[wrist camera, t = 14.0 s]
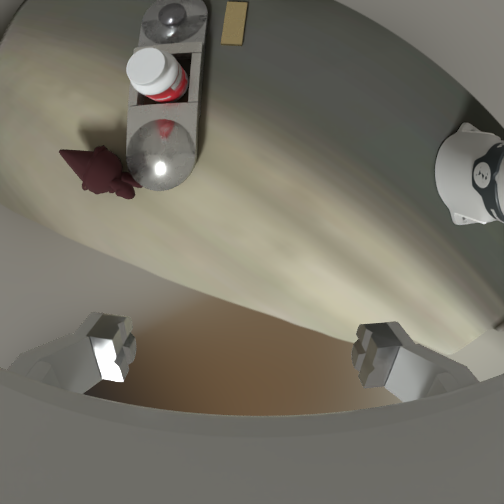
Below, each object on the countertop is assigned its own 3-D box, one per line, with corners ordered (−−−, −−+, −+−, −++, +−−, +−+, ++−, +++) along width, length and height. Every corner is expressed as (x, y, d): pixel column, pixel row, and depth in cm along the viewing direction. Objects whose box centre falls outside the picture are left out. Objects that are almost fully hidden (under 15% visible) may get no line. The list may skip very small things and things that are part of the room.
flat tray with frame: (149, 0, 31) (144, -7, 28) (211, -5, 31) (209, -14, 29) (133, 188, 41) (126, 191, 38) (198, 188, 42) (194, 191, 39)
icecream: (42, 180, 34) (122, 222, 38) (51, 135, 30) (139, 177, 34) (66, 164, 40) (139, 201, 44) (77, 124, 36) (156, 161, 40)
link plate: (227, 4, 33) (227, 1, 31) (247, 5, 33) (247, 2, 32) (221, 46, 35) (220, 43, 34) (241, 47, 35) (241, 44, 34)
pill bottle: (142, 97, 37) (111, 82, 26) (160, 61, 35) (135, 37, 25) (178, 109, 38) (156, 96, 27) (196, 73, 36) (181, 48, 26)
